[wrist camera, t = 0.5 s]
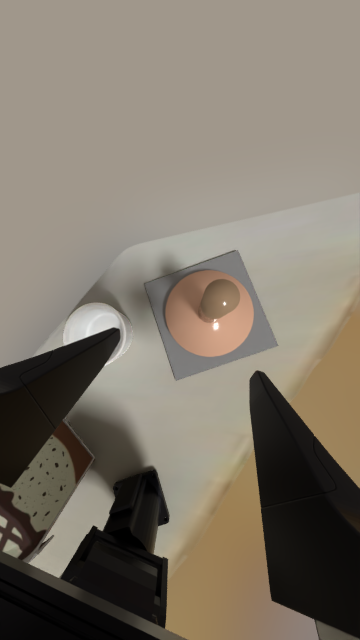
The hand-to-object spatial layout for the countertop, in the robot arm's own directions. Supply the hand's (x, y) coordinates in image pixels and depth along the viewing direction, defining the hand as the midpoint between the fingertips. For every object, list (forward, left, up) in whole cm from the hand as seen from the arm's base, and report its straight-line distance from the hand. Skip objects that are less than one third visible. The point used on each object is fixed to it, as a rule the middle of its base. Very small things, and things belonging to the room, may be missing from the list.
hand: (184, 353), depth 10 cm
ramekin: (+5, +11, -14) cm, 19 cm away
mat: (+3, -5, -14) cm, 15 cm away
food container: (-9, +23, -14) cm, 29 cm away
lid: (+3, -5, -14) cm, 15 cm away
